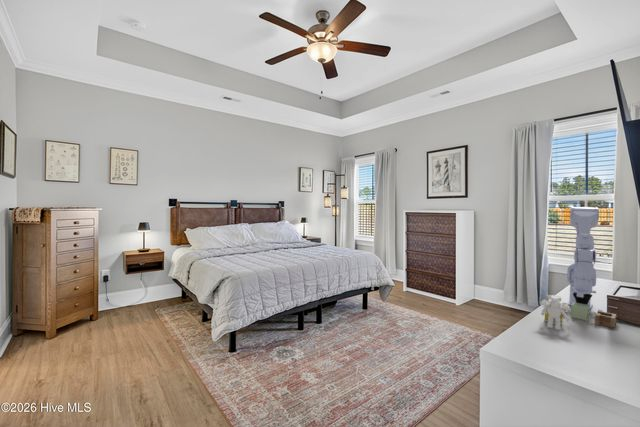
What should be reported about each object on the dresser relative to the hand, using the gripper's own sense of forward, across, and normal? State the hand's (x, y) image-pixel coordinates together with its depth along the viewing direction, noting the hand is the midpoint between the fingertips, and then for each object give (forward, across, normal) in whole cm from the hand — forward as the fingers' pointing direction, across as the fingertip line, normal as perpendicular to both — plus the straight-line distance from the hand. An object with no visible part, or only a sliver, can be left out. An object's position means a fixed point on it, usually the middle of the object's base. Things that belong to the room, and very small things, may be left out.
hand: (581, 311), depth 126 cm
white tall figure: (+2, -19, +6) cm, 20 cm away
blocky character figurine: (+2, -26, +4) cm, 26 cm away
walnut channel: (+1, -5, -2) cm, 5 cm away
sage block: (+1, -4, 0) cm, 4 cm away
